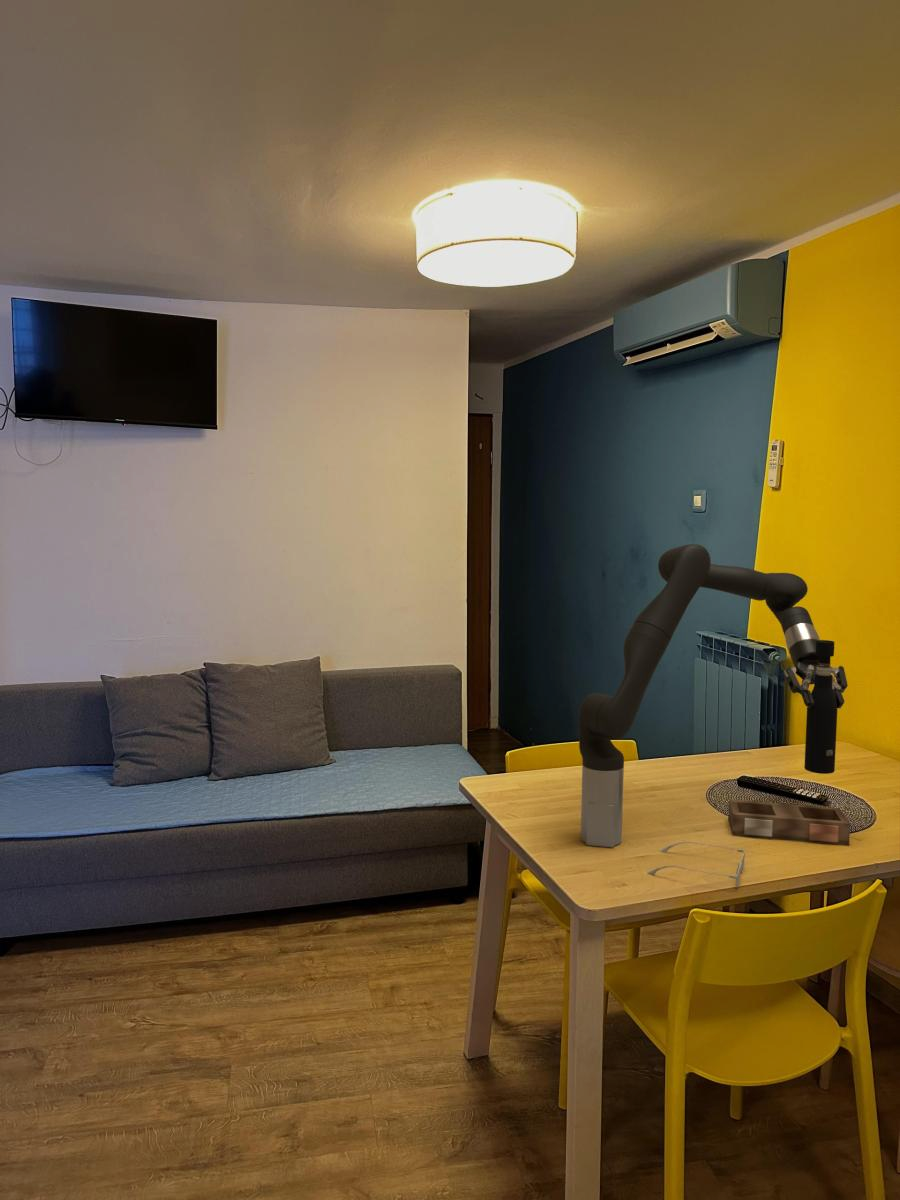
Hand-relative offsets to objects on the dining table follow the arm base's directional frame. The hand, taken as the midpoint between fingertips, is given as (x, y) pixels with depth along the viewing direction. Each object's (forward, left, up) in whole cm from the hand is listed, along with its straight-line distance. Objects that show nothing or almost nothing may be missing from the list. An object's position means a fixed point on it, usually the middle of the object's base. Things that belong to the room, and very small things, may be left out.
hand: (825, 706), depth 195 cm
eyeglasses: (-26, +29, -31) cm, 50 cm away
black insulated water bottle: (+2, 0, -15) cm, 16 cm away
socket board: (+2, +7, -31) cm, 32 cm away
